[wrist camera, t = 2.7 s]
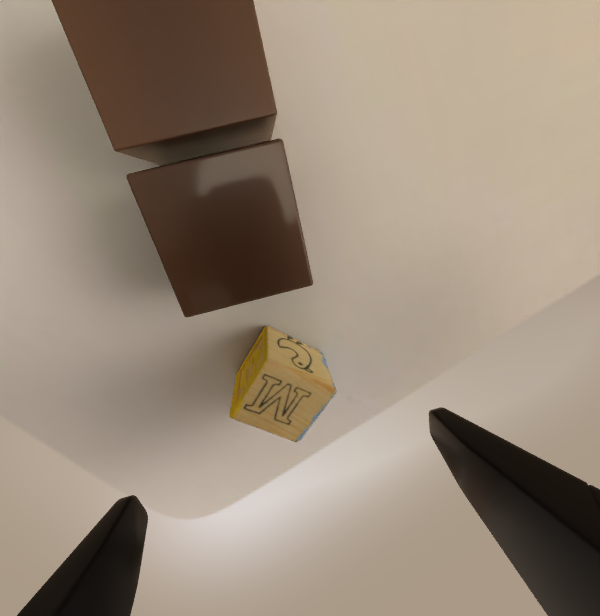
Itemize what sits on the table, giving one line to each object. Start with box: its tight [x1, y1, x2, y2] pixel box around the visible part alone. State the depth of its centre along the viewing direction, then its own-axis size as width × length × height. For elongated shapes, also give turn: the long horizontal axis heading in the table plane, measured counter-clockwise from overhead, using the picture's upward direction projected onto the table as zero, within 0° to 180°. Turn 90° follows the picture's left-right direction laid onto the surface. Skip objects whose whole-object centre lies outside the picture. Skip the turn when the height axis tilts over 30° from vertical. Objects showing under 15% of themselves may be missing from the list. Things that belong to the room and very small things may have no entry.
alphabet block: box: [230, 326, 336, 442], centre depth 12 cm, size 3×3×3 cm
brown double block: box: [52, 0, 313, 317], centre depth 9 cm, size 4×8×4 cm, turn 13°
